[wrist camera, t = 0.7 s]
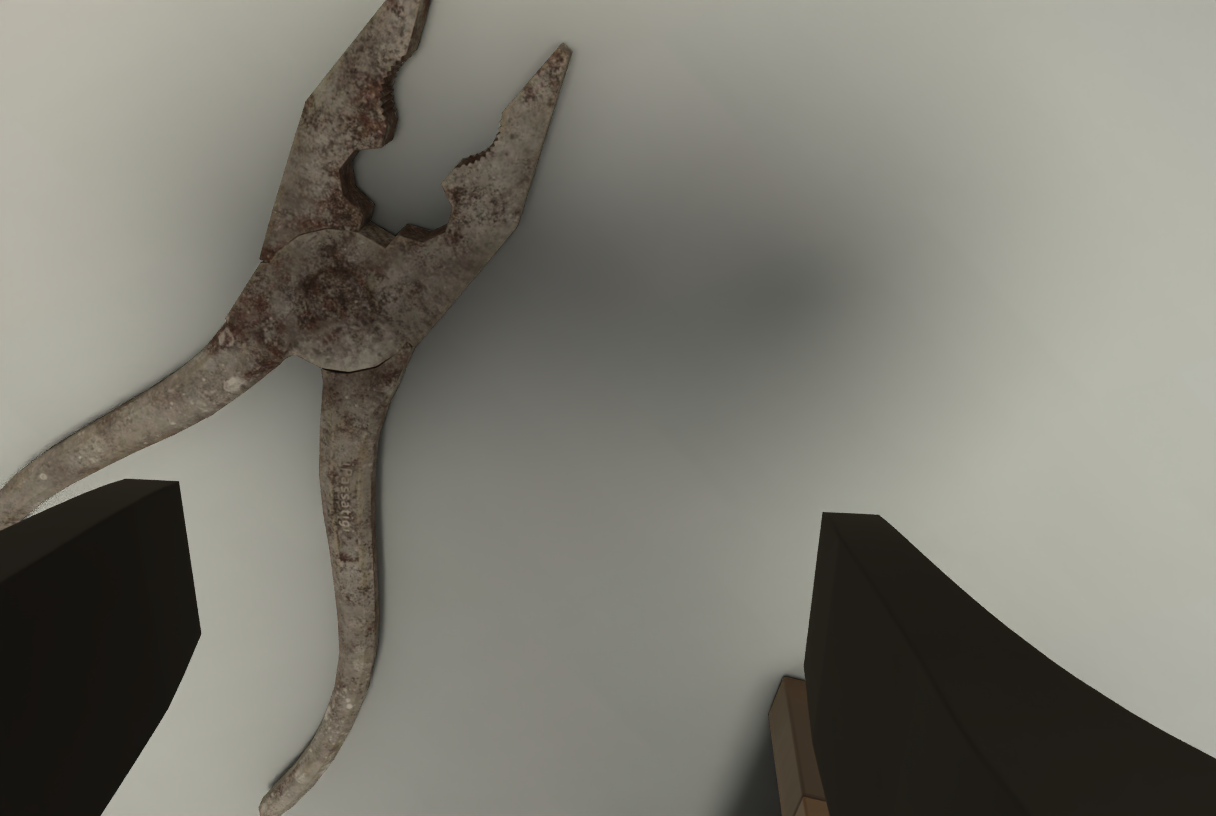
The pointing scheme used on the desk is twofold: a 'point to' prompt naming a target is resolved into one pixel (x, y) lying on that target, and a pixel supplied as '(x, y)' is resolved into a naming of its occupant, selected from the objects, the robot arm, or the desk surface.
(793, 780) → the brown wooden bridge block
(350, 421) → the pliers
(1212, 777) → the robot arm
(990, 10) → the desk surface
